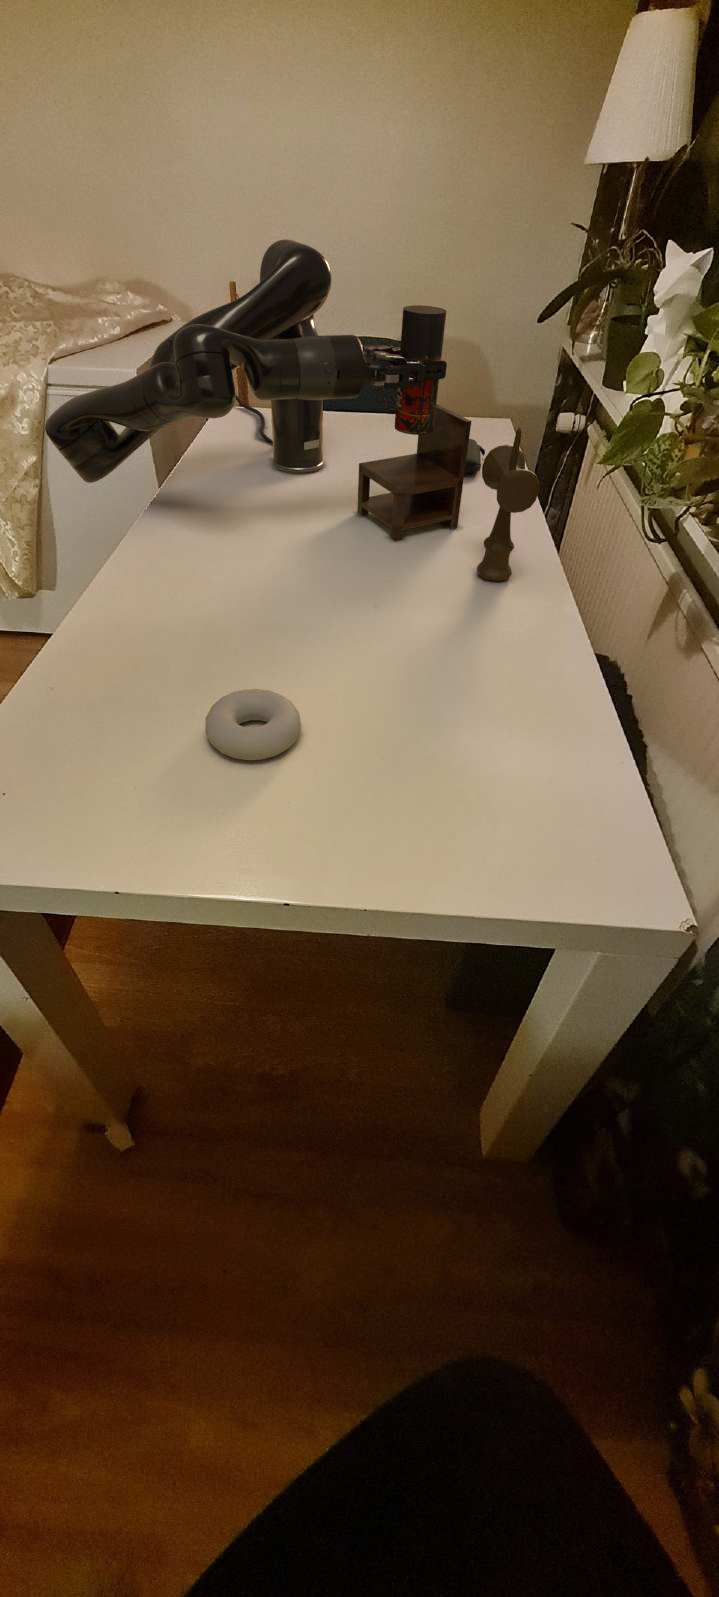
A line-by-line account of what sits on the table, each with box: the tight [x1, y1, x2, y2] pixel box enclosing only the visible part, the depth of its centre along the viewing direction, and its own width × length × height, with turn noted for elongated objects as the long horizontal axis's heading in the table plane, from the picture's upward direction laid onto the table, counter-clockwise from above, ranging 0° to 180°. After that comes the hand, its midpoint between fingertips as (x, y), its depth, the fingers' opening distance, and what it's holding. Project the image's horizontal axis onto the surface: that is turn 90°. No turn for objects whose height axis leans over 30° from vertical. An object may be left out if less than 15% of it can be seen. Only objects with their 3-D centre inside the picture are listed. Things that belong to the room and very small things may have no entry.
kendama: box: [476, 427, 540, 582], centre depth 97 cm, size 6×10×20 cm, turn 4°
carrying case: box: [464, 438, 486, 477], centre depth 135 cm, size 11×3×15 cm
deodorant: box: [394, 304, 447, 436], centre depth 102 cm, size 6×6×15 cm
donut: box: [204, 688, 302, 761], centre depth 74 cm, size 10×4×10 cm
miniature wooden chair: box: [357, 403, 472, 542], centre depth 111 cm, size 12×12×16 cm
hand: (435, 363), depth 102 cm, fingers closed on deodorant, 6 cm apart
